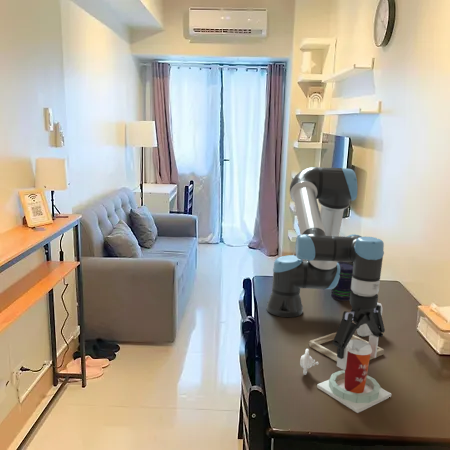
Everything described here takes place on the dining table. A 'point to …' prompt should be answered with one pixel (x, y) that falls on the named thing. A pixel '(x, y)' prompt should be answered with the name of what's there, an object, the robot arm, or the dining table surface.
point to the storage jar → (343, 283)
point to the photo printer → (366, 327)
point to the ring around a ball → (307, 362)
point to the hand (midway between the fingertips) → (356, 361)
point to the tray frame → (327, 352)
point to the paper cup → (357, 365)
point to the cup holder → (354, 400)
